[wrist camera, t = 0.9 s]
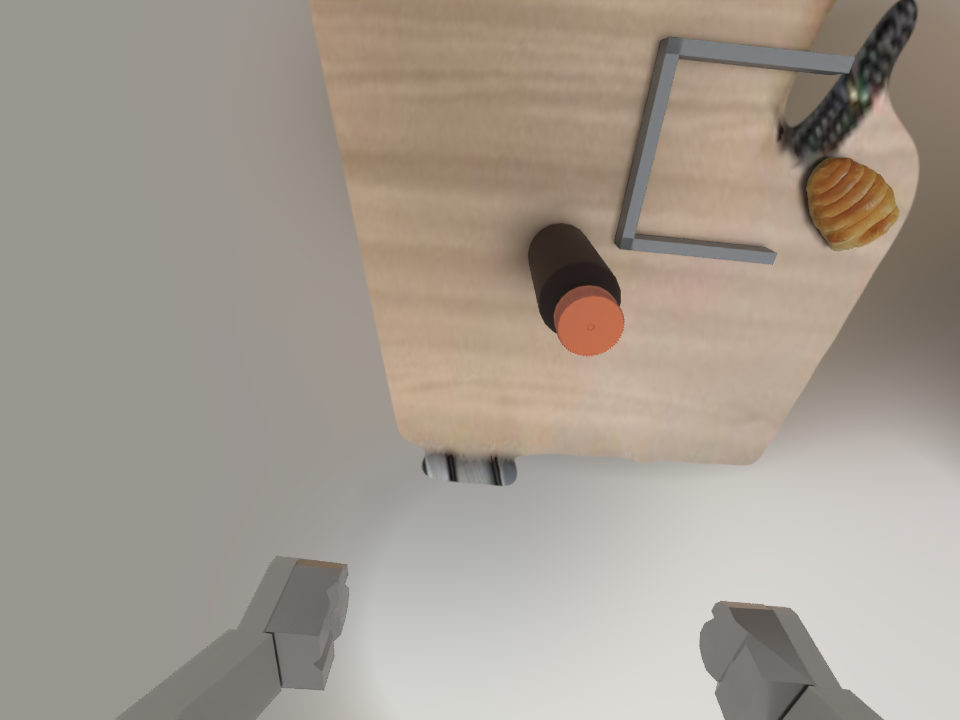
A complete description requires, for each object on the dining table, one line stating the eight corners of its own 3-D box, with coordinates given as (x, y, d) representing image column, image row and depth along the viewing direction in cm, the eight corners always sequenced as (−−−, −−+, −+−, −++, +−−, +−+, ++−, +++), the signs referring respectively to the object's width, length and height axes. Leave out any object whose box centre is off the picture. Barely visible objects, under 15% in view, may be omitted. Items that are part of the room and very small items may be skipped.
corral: (660, 40, 42) (669, 36, 40) (836, 59, 42) (855, 56, 40) (614, 243, 51) (619, 249, 49) (760, 258, 51) (772, 264, 49)
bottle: (515, 260, 52) (524, 335, 34) (555, 209, 49) (587, 263, 32) (561, 294, 54) (593, 383, 36) (602, 247, 51) (658, 318, 33)
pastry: (781, 190, 48) (801, 196, 44) (846, 136, 45) (872, 138, 42) (830, 252, 50) (852, 263, 47) (894, 205, 48) (922, 212, 44)
